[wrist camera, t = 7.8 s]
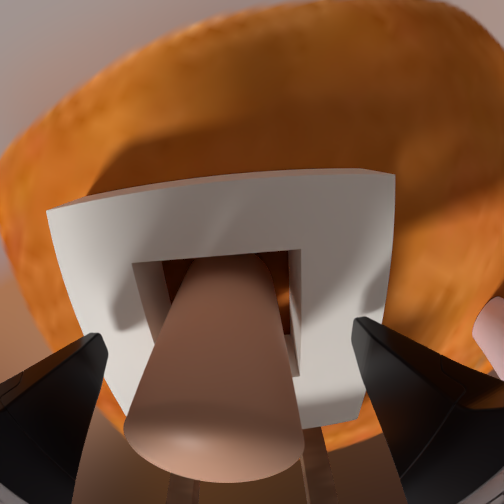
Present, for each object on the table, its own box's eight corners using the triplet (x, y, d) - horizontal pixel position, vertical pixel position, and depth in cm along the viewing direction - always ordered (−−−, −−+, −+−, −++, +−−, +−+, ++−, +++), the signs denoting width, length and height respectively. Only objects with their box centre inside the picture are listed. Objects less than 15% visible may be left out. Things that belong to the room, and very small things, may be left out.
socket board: (360, 168, 11) (395, 174, 8) (343, 381, 15) (357, 419, 12) (85, 196, 11) (46, 211, 8) (146, 393, 15) (134, 429, 12)
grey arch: (325, 395, 15) (360, 520, 7) (320, 428, 16) (343, 533, 8) (165, 404, 15) (138, 525, 7) (181, 435, 16) (166, 538, 8)
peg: (271, 242, 12) (311, 392, 4) (275, 322, 13) (299, 477, 5) (177, 250, 12) (93, 391, 4) (192, 328, 13) (157, 477, 6)
